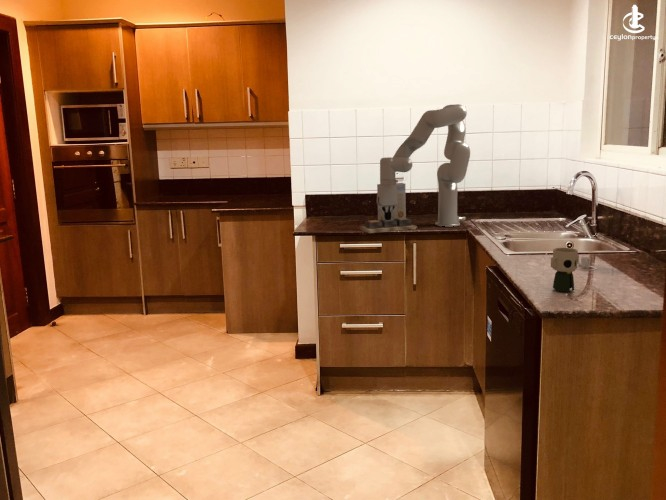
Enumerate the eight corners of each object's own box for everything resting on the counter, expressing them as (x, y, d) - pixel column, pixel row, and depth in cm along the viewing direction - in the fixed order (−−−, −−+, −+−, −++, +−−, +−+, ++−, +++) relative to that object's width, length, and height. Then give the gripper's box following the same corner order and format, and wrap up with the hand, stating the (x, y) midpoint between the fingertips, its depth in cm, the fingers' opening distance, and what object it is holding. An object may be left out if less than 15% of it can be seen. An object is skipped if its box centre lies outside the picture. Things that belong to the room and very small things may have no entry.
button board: (406, 225, 323) (406, 216, 322) (417, 228, 311) (417, 220, 311) (359, 229, 314) (359, 220, 313) (369, 233, 303) (368, 224, 302)
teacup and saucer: (578, 265, 230) (579, 254, 229) (600, 267, 225) (601, 256, 224) (569, 269, 223) (570, 258, 222) (592, 272, 218) (593, 261, 217)
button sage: (404, 223, 318) (404, 217, 317) (408, 224, 314) (408, 218, 313) (396, 224, 316) (396, 218, 316) (400, 225, 312) (400, 219, 312)
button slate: (390, 224, 315) (390, 218, 314) (394, 226, 311) (394, 220, 310) (382, 225, 314) (382, 219, 313) (386, 226, 310) (385, 220, 309)
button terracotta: (375, 225, 312) (375, 220, 312) (379, 227, 308) (379, 221, 308) (367, 226, 311) (367, 220, 310) (371, 227, 307) (371, 221, 306)
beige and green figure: (558, 295, 189) (560, 253, 187) (541, 290, 196) (543, 249, 193) (585, 291, 194) (587, 249, 191) (568, 285, 200) (570, 246, 197)
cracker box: (401, 221, 336) (401, 182, 332) (406, 223, 331) (406, 183, 326) (377, 223, 333) (376, 183, 329) (381, 224, 327) (380, 184, 323)
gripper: (398, 181, 314) (398, 217, 318) (370, 183, 309) (371, 219, 313) (404, 182, 307) (404, 219, 311) (376, 184, 302) (377, 221, 306)
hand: (387, 219), depth 312 cm, fingers closed
